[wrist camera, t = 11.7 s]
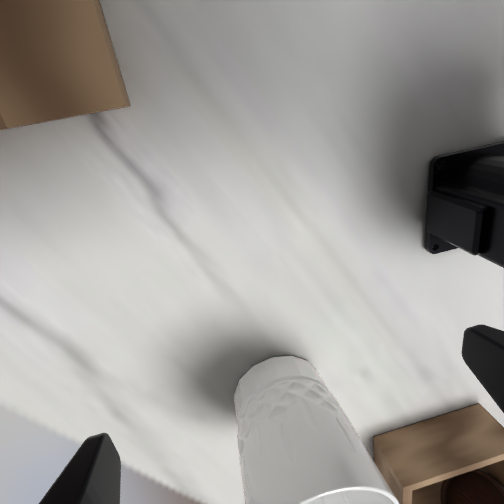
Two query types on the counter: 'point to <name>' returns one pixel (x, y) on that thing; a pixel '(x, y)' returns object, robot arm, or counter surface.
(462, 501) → the dark brown rounded piece
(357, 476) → the white cup
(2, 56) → the walnut square frame
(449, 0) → the counter surface
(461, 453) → the walnut watch frame
